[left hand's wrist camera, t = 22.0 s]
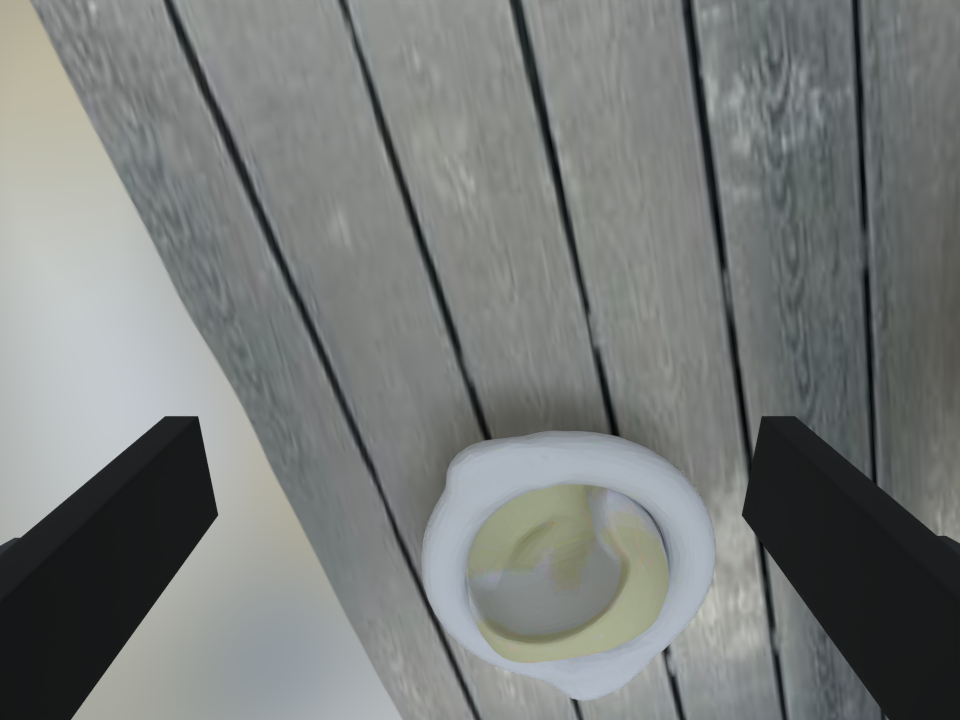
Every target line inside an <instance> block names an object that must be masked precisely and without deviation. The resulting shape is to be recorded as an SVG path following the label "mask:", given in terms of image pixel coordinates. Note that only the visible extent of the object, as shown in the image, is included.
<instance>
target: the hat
mask: <svg viewBox="0 0 960 720" xmlns="http://www.w3.org/2000/svg"><path fill="white" fill-rule="evenodd" d="M649 513H650V514H651V515H650V514H649ZM651 516H652V517H653V518H654V520H655V521H656V523H657V525H658V527H659V530H660V532H661V535H662V538H663V542H662V539H661V536H660V534H659V531H658V529H657V527H656V525H655V523H654V521H653V519H652V517H651ZM715 561H716V543H715V535H714V529H713V525H712V522H711V519H710V516H709V514H708V511H707V509H706V507H705V505H704V503H703V501H702V499H701V497H700V495H699V493H698V492H697V491H696V489H695V488H694V487H693V485H692V484H691V482H690V481H689V480H688V479H687V478H686V477H685V476H684V475H683V474H682V473H681V472H680V471H679V470H678V469H677V468H676V467H675V466H673V465H672V464H671V463H670V462H669V461H667V460H666V459H665V458H663V457H661V456H660V455H658V454H657V453H655V452H654V451H652V450H650V449H648V448H646V447H644V446H642V445H640V444H638V443H635V442H632V441H629V440H626V439H623V438H621V437H617V436H613V435H608V434H603V433H596V432H589V431H543V432H537V433H533V434H529V435H525V436H517V437H508V438H500V439H493V440H486V441H481V442H478V443H475V444H471V445H470V446H468V447H467V448H465V449H464V450H462V451H461V452H460V453H458V454H457V455H456V456H455V458H454V459H453V460H452V461H451V463H450V465H449V468H448V470H447V477H446V487H445V489H444V491H443V493H442V495H441V497H440V499H439V501H438V502H437V504H436V506H435V507H434V510H433V512H432V514H431V516H430V518H429V520H428V523H427V526H426V529H425V533H424V538H423V545H422V556H421V565H422V576H423V584H424V587H425V591H426V594H427V597H428V600H429V602H430V604H431V606H432V608H433V611H434V613H435V614H436V616H437V617H438V619H439V620H440V622H441V623H442V625H443V626H444V627H445V629H446V630H447V631H448V632H449V633H450V634H451V635H452V636H453V637H454V638H455V639H456V640H457V641H458V642H459V643H460V644H461V645H462V646H463V647H464V648H466V649H467V650H469V651H470V652H471V653H473V654H474V655H476V656H477V657H479V658H481V659H483V660H484V661H486V662H488V663H490V664H492V665H494V666H497V667H499V668H502V669H504V670H507V671H510V672H513V673H516V674H520V675H523V676H527V677H531V678H535V679H539V680H542V681H544V682H546V683H549V684H551V685H552V686H554V687H555V688H557V689H558V690H560V691H561V692H563V693H564V694H566V695H567V696H569V697H570V698H573V699H577V700H582V701H589V700H594V699H597V698H600V697H602V696H604V695H607V694H609V693H611V692H614V691H616V690H618V689H620V688H621V687H623V686H625V685H626V684H627V683H628V682H630V681H631V680H632V679H633V678H634V677H635V676H636V675H638V674H639V673H640V672H641V671H642V670H643V669H644V668H645V667H646V666H647V665H648V664H649V663H650V662H651V660H652V659H653V658H654V657H655V656H656V655H658V654H659V653H660V652H661V651H663V650H664V649H665V648H666V647H667V646H668V645H669V644H670V643H671V642H672V641H673V640H674V639H675V638H676V637H677V636H678V635H679V633H680V632H681V631H683V630H684V629H685V627H686V626H687V625H688V624H689V623H690V622H691V620H692V619H693V618H694V616H695V615H696V613H697V612H698V610H699V609H700V607H701V605H702V604H703V602H704V599H705V597H706V595H707V593H708V591H709V587H710V584H711V581H712V578H713V573H714V567H715Z"/></svg>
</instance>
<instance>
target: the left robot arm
mask: <svg viewBox="0 0 960 720" xmlns="http://www.w3.org/2000/svg"><path fill="white" fill-rule="evenodd" d="M217 516H218V512H217V507H216V502H215V497H214V492H213V487H212V482H211V478H210V472H209V468H208V463H207V458H206V453H205V448H204V443H203V438H202V433H201V428H200V423H199V418H198V416H165V417H164V418H163V419H161V420H160V421H159V422H158V423H157V424H156V425H154V426H153V427H152V428H151V429H150V430H148V431H147V432H146V433H145V434H144V435H142V436H141V437H140V438H139V439H138V440H136V441H135V442H134V443H133V444H132V445H131V446H129V447H128V448H127V449H126V450H125V451H123V452H122V453H121V454H120V455H119V456H117V457H116V458H115V459H114V460H113V461H111V462H110V463H109V464H108V465H107V466H106V467H104V468H103V469H102V470H101V471H100V472H98V473H97V474H96V475H95V476H94V477H92V478H91V479H90V480H89V481H88V482H86V483H85V484H84V485H83V486H82V487H81V488H79V489H78V490H77V491H76V492H75V493H73V494H72V495H71V496H70V497H69V498H67V499H66V500H65V501H64V502H63V503H62V504H60V505H59V506H58V507H57V508H56V509H54V510H53V511H52V512H51V513H50V514H48V515H47V516H46V517H45V518H44V519H42V520H41V521H40V522H39V523H38V524H37V525H35V526H34V527H33V528H32V529H31V530H29V531H28V532H27V533H26V534H25V535H23V536H22V537H21V538H13V539H12V540H10V541H8V542H6V543H4V544H3V545H1V546H0V720H71V719H72V717H73V716H74V715H75V713H76V712H77V710H78V709H79V708H80V706H81V705H82V703H83V702H84V701H85V699H86V698H87V696H88V695H89V694H90V692H91V691H92V690H93V688H94V687H95V685H96V684H97V683H98V681H99V680H100V678H101V677H102V676H103V674H104V673H105V672H106V670H107V669H108V667H109V666H110V665H111V663H112V662H113V660H114V659H115V658H116V656H117V655H118V653H119V652H120V651H121V649H122V648H123V647H124V645H125V644H126V642H127V641H128V640H129V638H130V637H131V635H132V634H133V633H134V631H135V630H136V628H137V627H138V626H139V624H140V623H141V622H142V620H143V619H144V617H145V616H146V615H147V613H148V612H149V610H150V609H151V608H152V606H153V605H154V603H155V602H156V601H157V599H158V598H159V597H160V595H161V594H162V592H163V591H164V590H165V588H166V587H167V585H168V584H169V583H170V581H171V580H172V579H173V577H174V576H175V574H176V573H177V572H178V570H179V569H180V567H181V566H182V565H183V563H184V562H185V560H186V559H187V558H188V556H189V555H190V554H191V552H192V551H193V549H194V548H195V547H196V545H197V544H198V542H199V541H200V540H201V538H202V537H203V536H204V534H205V533H206V531H207V530H208V529H209V527H210V526H211V524H212V523H213V522H214V520H215V519H216V517H217ZM742 516H743V517H744V519H745V520H746V522H747V523H748V524H749V526H750V527H751V529H752V530H753V531H754V533H755V534H756V536H757V537H758V538H759V540H760V541H761V542H762V544H763V545H764V547H765V548H766V549H767V551H768V552H769V554H770V555H771V556H772V558H773V559H774V561H775V562H776V563H777V565H778V566H779V567H780V569H781V570H782V572H783V573H784V574H785V576H786V577H787V579H788V580H789V581H790V583H791V584H792V585H793V587H794V588H795V590H796V591H797V592H798V594H799V595H800V597H801V598H802V599H803V601H804V602H805V604H806V605H807V606H808V608H809V609H810V610H811V612H812V613H813V615H814V616H815V617H816V619H817V620H818V622H819V623H820V624H821V626H822V627H823V629H824V630H825V631H826V633H827V634H828V635H829V637H830V638H831V640H832V641H833V642H834V644H835V645H836V647H837V648H838V649H839V651H840V652H841V654H842V655H843V656H844V658H845V659H846V660H847V662H848V663H849V665H850V666H851V667H852V669H853V670H854V672H855V673H856V674H857V676H858V677H859V678H860V680H861V681H862V683H863V684H864V685H865V687H866V688H867V690H868V691H869V692H870V694H871V695H872V697H873V698H874V699H875V701H876V702H877V703H878V705H879V706H880V708H881V709H882V710H883V712H884V713H885V715H886V716H887V717H888V719H889V720H960V543H958V542H956V541H954V540H952V539H951V538H949V537H947V536H937V535H935V534H934V533H933V532H932V531H931V530H929V529H928V528H927V527H926V526H925V525H923V524H922V523H921V522H920V521H919V520H918V519H916V518H915V517H914V516H913V515H912V514H910V513H909V512H908V511H907V510H906V509H904V508H903V507H902V506H901V505H900V504H898V503H897V502H896V501H895V500H894V499H893V498H891V497H890V496H889V495H888V494H887V493H885V492H884V491H883V490H882V489H881V488H879V487H878V486H877V485H876V484H875V483H874V482H872V481H871V480H870V479H869V478H868V477H866V476H865V475H864V474H863V473H862V472H860V471H859V470H858V469H857V468H856V467H854V466H853V465H852V464H851V463H850V462H849V461H847V460H846V459H845V458H844V457H843V456H841V455H840V454H839V453H838V452H837V451H835V450H834V449H833V448H832V447H831V446H829V445H828V444H827V443H826V442H825V441H824V440H822V439H821V438H820V437H819V436H818V435H816V434H815V433H814V432H813V431H812V430H810V429H809V428H808V427H807V426H806V425H805V424H803V423H802V422H801V421H800V420H799V419H797V418H796V417H795V416H762V418H761V423H760V428H759V433H758V438H757V443H756V448H755V453H754V458H753V463H752V468H751V472H750V477H749V482H748V487H747V492H746V497H745V502H744V507H743V512H742Z"/></svg>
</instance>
